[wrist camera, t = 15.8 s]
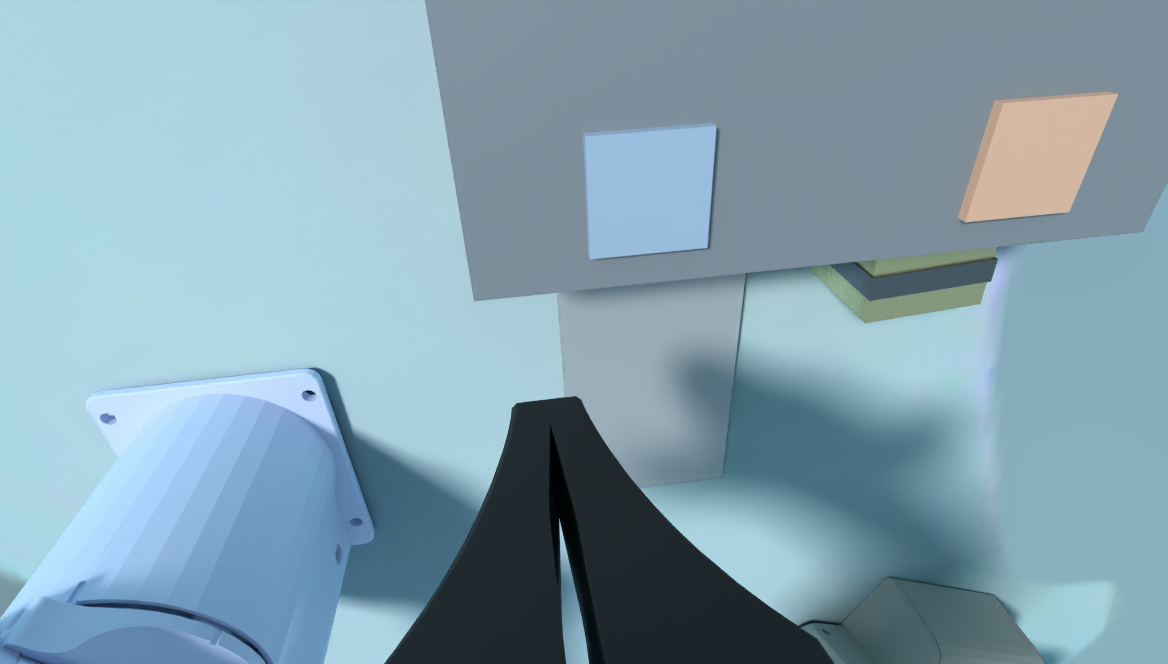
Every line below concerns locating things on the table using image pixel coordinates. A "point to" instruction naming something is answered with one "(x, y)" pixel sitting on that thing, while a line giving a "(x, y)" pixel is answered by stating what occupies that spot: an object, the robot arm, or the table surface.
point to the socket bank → (790, 131)
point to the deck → (656, 371)
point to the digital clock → (926, 628)
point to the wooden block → (910, 283)
